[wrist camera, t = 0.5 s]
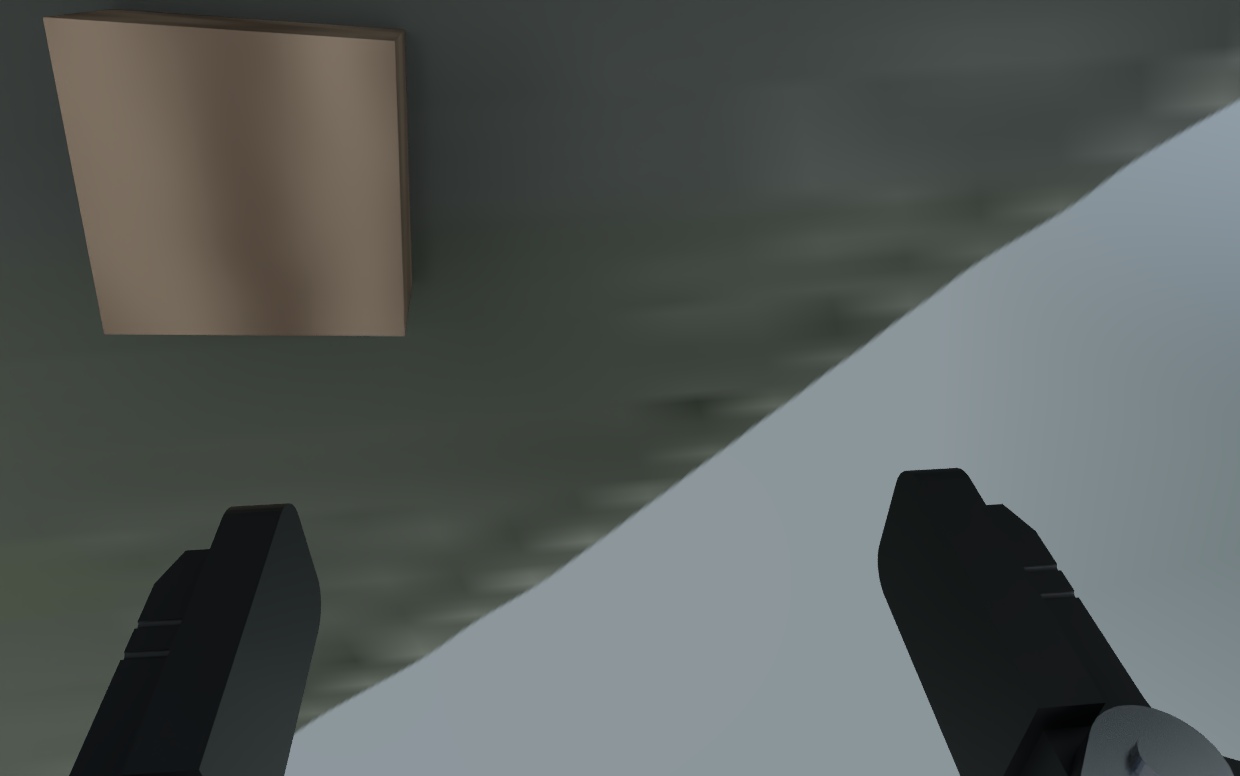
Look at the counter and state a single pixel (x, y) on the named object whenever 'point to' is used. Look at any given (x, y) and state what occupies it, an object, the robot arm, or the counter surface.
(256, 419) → the counter surface
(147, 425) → the counter surface
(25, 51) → the counter surface
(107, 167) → the walnut base
